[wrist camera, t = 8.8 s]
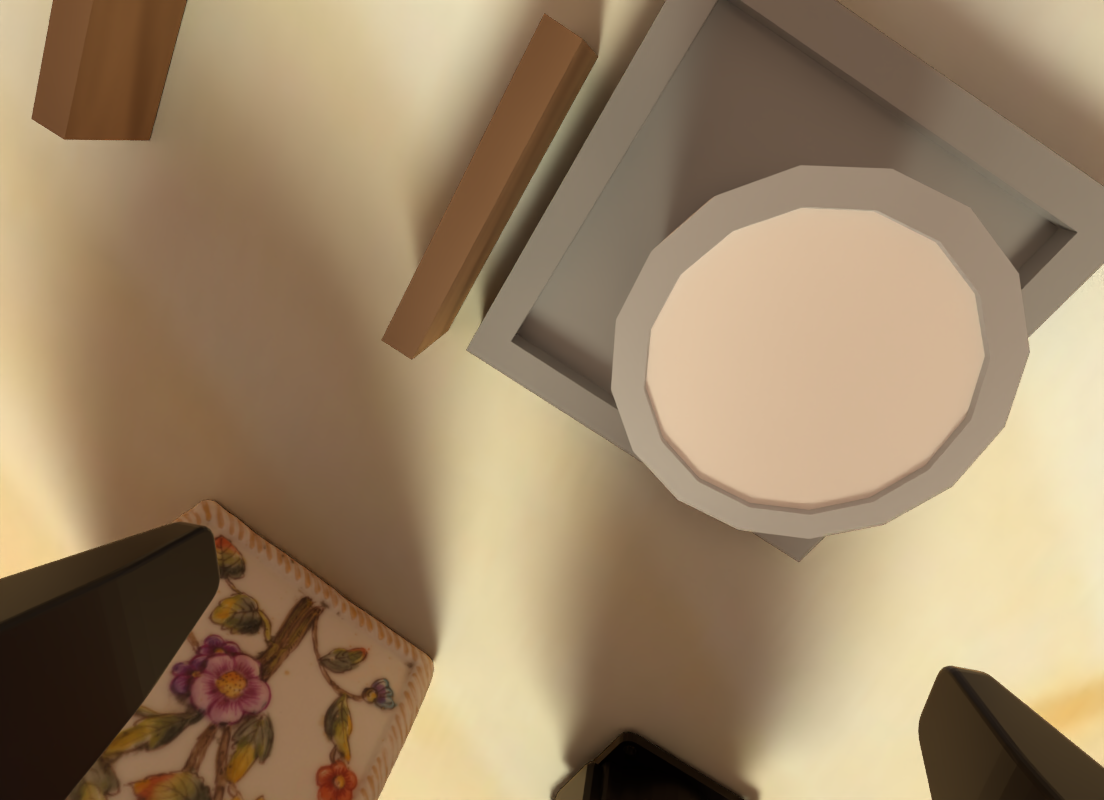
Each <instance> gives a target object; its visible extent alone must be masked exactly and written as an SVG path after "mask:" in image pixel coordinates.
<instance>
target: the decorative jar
mask: <svg viewBox="0 0 1104 800" xmlns="http://www.w3.org/2000/svg"><path fill="white" fill-rule="evenodd" d="M174 522H188V523H194V524H199V525H204V526H206V527H208V528H210V529H211V531H212V532H213V534H214V539H215V545H216V552H217V559H218V566H219V572H220V583H219V587H218V590H217V592H216V595H215V596H214V598H213V600H212V601H211V603H210V604H209V606H208V607H207V609H206V610H205V612H204V613H203V615H202V616H201V618H200V619H199V621H198V622H197V624H196V625H195V627H194V628H193V630H192V631H191V633H190V634H189V636H188V637H187V639H186V640H185V642H184V643H183V645H182V646H181V648H180V649H179V651H178V652H177V654H176V655H175V657H174V658H173V660H172V661H171V663H170V664H169V666H168V667H167V669H166V670H165V672H164V673H163V675H162V676H161V678H160V679H159V681H158V682H157V684H156V685H155V686H154V688H153V689H152V691H151V692H150V693H149V695H148V696H147V698H146V699H145V700H144V702H143V703H142V704H141V706H140V707H139V708H138V710H137V711H136V712H135V714H134V715H133V716H132V717H131V719H130V720H129V721H128V723H127V724H126V725H125V726H124V727H123V729H122V730H121V731H120V732H119V734H118V735H117V736H116V737H115V739H114V740H113V741H112V742H111V744H110V745H109V746H108V747H107V749H106V750H105V751H104V752H103V754H102V755H101V756H100V757H99V759H98V760H97V761H96V762H95V764H94V765H93V766H92V767H91V769H90V770H89V771H88V772H87V773H86V775H85V776H84V777H83V778H82V780H81V781H80V782H79V783H78V785H77V786H76V787H75V788H74V790H73V791H72V792H71V793H70V795H69V796H68V797H67V798H66V800H378V798H379V796H380V793H381V792H382V790H383V788H384V785H385V783H386V781H387V778H388V776H389V775H390V773H391V770H392V768H393V766H394V764H395V762H396V760H397V758H398V755H399V753H400V751H401V749H402V747H403V745H404V743H405V741H406V738H407V736H408V734H409V732H410V730H411V727H412V725H413V723H414V720H415V718H416V716H417V714H418V712H419V709H420V706H421V704H422V702H423V700H424V697H425V695H426V692H427V690H428V688H429V685H430V682H431V679H432V676H433V671H434V666H433V662H432V660H431V659H430V657H429V656H428V655H427V654H425V653H424V652H423V651H421V650H420V649H418V648H417V647H415V646H414V645H412V644H411V643H409V642H408V641H406V640H405V639H403V638H402V637H401V636H399V635H398V634H396V633H395V632H393V631H392V630H391V629H389V628H388V627H387V626H385V625H384V624H383V623H381V622H380V621H378V620H377V619H375V618H373V617H372V616H370V615H369V614H368V613H366V612H365V611H363V610H361V609H360V608H358V607H357V606H356V605H354V604H352V603H351V602H350V601H348V600H347V599H345V598H344V597H343V596H341V595H340V594H339V593H338V592H337V591H336V590H335V589H333V588H332V587H331V586H329V585H328V584H326V583H325V582H324V581H322V580H321V579H320V578H318V577H317V576H316V575H314V574H313V573H312V572H310V571H309V570H308V569H306V568H305V567H303V566H302V565H300V564H299V563H298V562H296V561H295V560H294V559H292V558H291V557H289V556H288V555H287V554H285V553H284V552H282V551H281V550H279V549H278V548H276V547H275V546H273V545H272V544H270V543H269V542H267V541H266V540H265V539H263V538H261V537H260V536H259V535H257V534H256V533H255V532H253V531H252V530H251V529H250V528H248V527H247V526H246V525H245V524H244V523H243V522H241V521H240V520H239V519H238V518H236V517H235V516H233V515H232V514H230V513H228V512H227V511H226V510H225V509H224V508H223V507H221V506H220V505H219V504H218V503H217V502H215V501H212V500H203V501H201V502H199V503H198V504H197V505H196V506H195V507H193V508H192V509H191V510H189V511H188V512H186V513H184V514H183V515H182V516H180V517H179V518H177V519H176V520H175V521H173V522H172V523H174ZM170 524H171V523H170Z"/></svg>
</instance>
